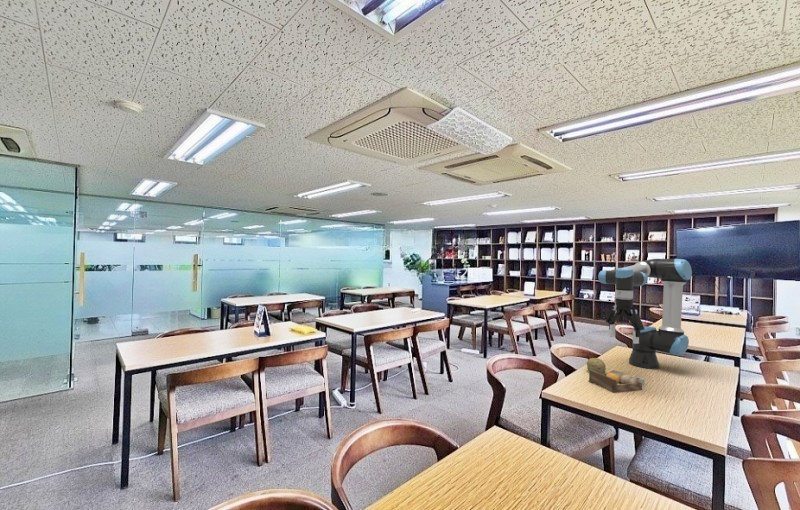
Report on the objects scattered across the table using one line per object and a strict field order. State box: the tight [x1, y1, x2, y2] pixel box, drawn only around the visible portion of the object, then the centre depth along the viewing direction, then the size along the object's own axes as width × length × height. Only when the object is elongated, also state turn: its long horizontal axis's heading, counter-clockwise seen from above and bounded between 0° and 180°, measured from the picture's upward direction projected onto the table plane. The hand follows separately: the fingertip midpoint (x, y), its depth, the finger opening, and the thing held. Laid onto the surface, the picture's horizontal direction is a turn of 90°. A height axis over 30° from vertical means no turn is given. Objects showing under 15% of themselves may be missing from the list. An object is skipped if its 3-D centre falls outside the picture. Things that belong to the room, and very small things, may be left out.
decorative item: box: [586, 357, 607, 374], centre depth 195 cm, size 10×10×10 cm
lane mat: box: [588, 380, 635, 393], centre depth 175 cm, size 17×15×1 cm
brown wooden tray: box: [588, 369, 643, 394], centre depth 175 cm, size 17×15×6 cm
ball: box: [606, 372, 619, 385], centre depth 175 cm, size 6×6×6 cm
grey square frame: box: [633, 376, 645, 385], centre depth 179 cm, size 4×4×2 cm
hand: (623, 340), depth 177 cm, fingers open, 13 cm apart
